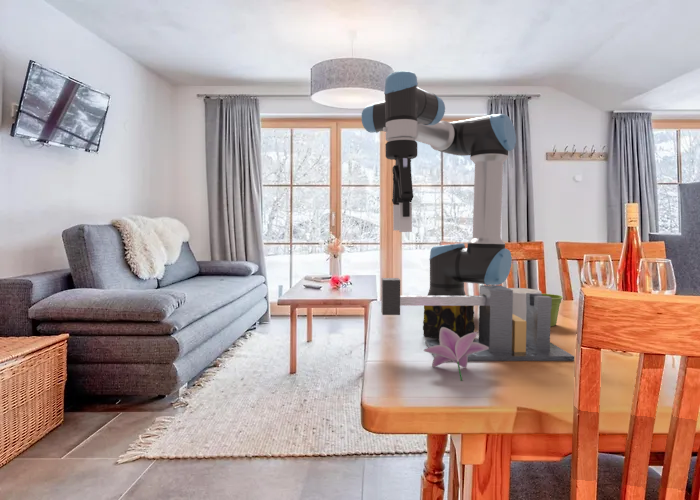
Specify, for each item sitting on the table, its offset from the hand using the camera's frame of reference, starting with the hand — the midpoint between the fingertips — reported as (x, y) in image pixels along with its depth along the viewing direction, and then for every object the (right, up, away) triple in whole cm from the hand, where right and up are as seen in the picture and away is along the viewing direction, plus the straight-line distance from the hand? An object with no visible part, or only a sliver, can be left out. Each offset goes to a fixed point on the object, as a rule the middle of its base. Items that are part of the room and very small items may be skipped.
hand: (401, 231), depth 102 cm
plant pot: (+46, -27, +25) cm, 59 cm away
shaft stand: (+21, -28, -3) cm, 35 cm away
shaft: (+8, -19, -3) cm, 21 cm away
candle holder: (+34, -28, +13) cm, 46 cm away
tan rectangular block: (+26, -27, -3) cm, 38 cm away
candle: (+14, -28, +11) cm, 33 cm away
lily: (+9, -29, -17) cm, 35 cm away
